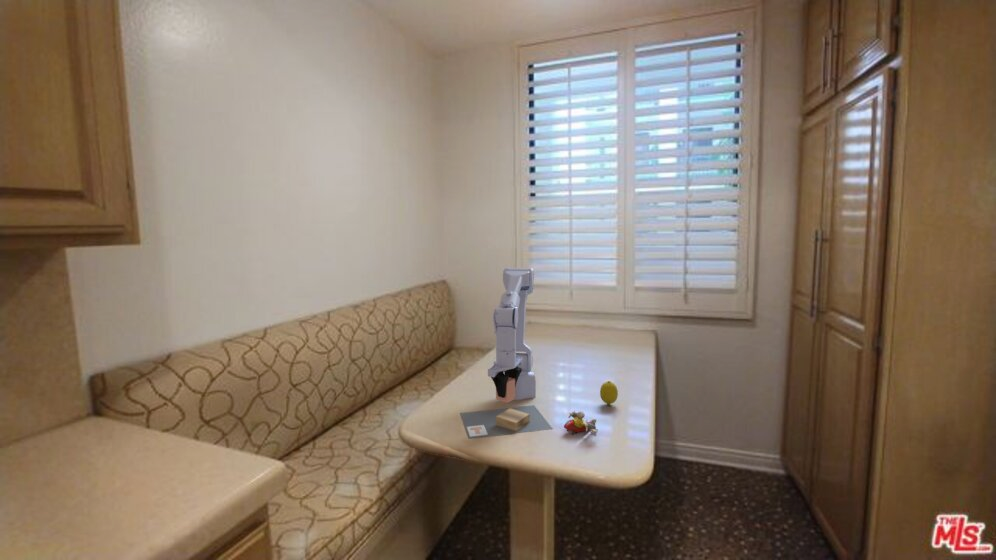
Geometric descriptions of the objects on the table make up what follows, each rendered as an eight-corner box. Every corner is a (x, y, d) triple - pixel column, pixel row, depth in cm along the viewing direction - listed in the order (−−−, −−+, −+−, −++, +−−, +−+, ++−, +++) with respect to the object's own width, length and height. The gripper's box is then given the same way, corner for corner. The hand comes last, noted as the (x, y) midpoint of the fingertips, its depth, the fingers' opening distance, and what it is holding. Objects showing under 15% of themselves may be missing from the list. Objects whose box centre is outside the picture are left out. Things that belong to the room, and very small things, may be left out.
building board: (534, 407, 140) (534, 404, 140) (552, 431, 124) (552, 428, 124) (459, 415, 135) (459, 412, 135) (468, 441, 119) (468, 438, 118)
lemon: (618, 402, 144) (618, 379, 143) (616, 409, 138) (617, 384, 138) (600, 400, 145) (601, 377, 145) (598, 407, 140) (599, 383, 139)
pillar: (504, 395, 131) (504, 375, 130) (515, 398, 128) (515, 378, 127) (496, 399, 127) (495, 379, 127) (507, 402, 125) (506, 382, 124)
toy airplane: (562, 437, 121) (562, 415, 120) (570, 423, 129) (570, 402, 128) (595, 443, 117) (596, 420, 116) (601, 429, 126) (602, 407, 125)
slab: (510, 416, 132) (510, 408, 132) (529, 422, 128) (529, 414, 128) (496, 424, 127) (496, 416, 126) (516, 431, 123) (516, 422, 122)
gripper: (509, 341, 134) (509, 384, 136) (479, 352, 123) (479, 398, 124) (528, 344, 130) (528, 389, 131) (499, 356, 118) (499, 404, 120)
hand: (506, 394), depth 127 cm, fingers closed on pillar, 4 cm apart
